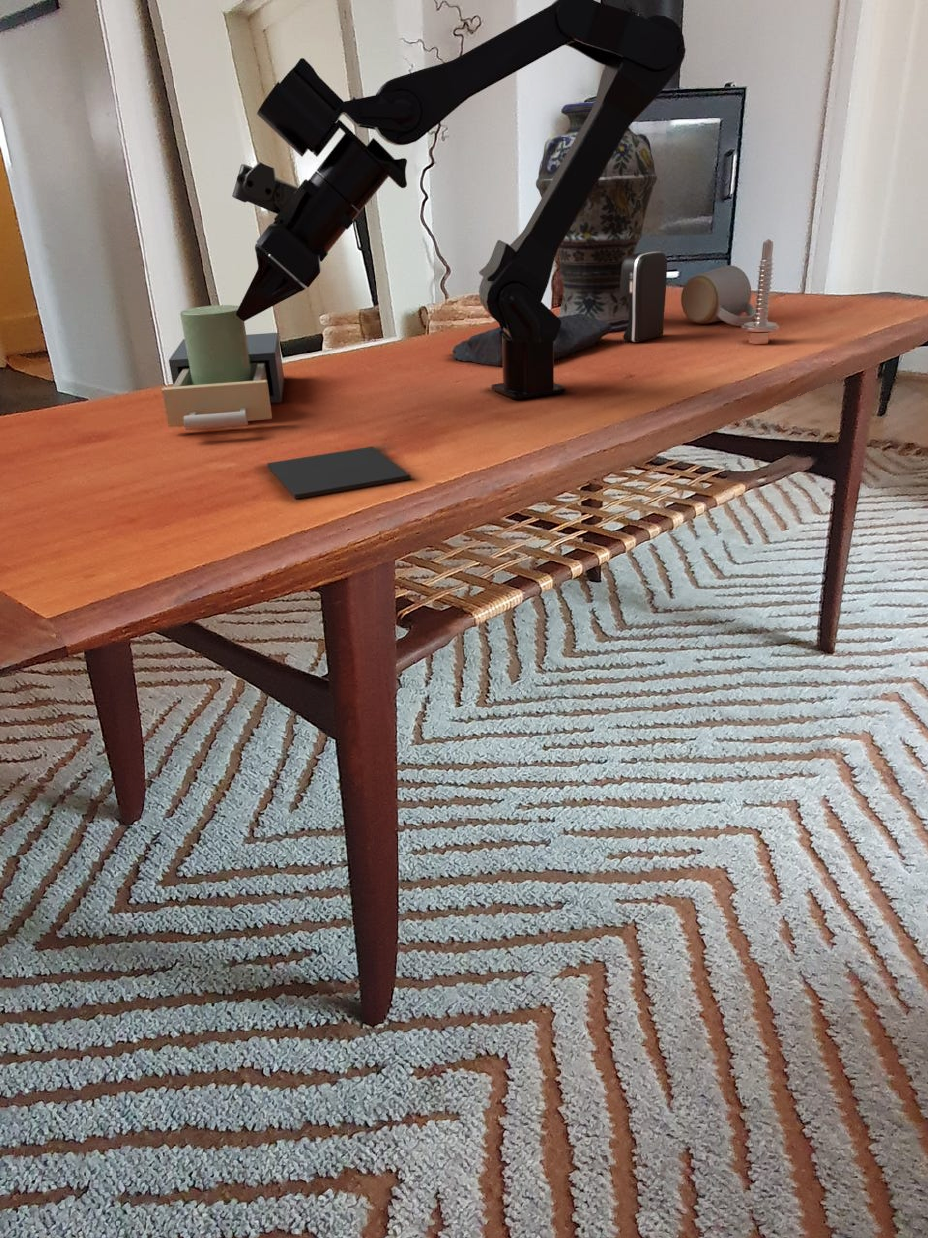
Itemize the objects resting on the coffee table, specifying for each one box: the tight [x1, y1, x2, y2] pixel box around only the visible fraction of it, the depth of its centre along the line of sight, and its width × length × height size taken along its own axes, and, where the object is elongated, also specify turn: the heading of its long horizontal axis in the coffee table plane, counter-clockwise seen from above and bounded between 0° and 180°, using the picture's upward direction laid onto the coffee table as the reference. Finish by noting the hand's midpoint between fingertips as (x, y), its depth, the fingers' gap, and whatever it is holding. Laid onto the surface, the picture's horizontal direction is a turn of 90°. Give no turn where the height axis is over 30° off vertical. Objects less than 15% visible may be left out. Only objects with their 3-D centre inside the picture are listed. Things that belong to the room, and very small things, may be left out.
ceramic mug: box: [680, 265, 756, 327], centre depth 139 cm, size 11×8×8 cm
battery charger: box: [620, 251, 668, 343], centre depth 130 cm, size 7×4×11 cm, turn 137°
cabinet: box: [168, 332, 285, 404], centre depth 111 cm, size 14×12×6 cm
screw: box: [740, 238, 780, 345], centre depth 123 cm, size 13×5×5 cm
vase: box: [535, 101, 658, 333], centre depth 136 cm, size 17×17×30 cm
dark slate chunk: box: [451, 313, 612, 367], centre depth 127 cm, size 15×22×5 cm
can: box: [179, 304, 253, 385], centre depth 100 cm, size 6×6×9 cm
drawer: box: [161, 361, 273, 431], centre depth 99 cm, size 16×10×4 cm, turn 9°
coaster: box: [267, 446, 411, 500], centre depth 82 cm, size 10×10×1 cm
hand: (243, 311), depth 99 cm, fingers open, 9 cm apart
